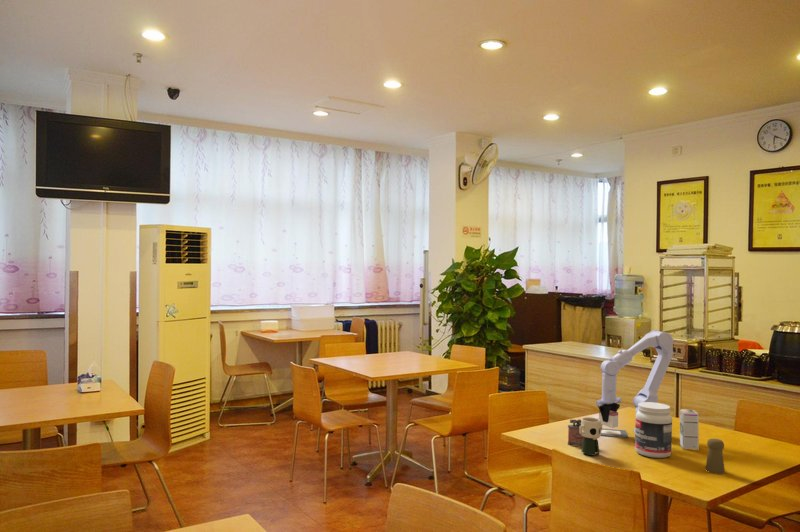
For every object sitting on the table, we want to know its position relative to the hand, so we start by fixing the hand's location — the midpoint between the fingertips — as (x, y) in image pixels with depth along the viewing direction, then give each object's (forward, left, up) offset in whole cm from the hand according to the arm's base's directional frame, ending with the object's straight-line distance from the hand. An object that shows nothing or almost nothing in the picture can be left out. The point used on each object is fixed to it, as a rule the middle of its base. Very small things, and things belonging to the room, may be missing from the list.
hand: (608, 421), depth 253 cm
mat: (0, 0, -5) cm, 5 cm away
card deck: (0, 0, -2) cm, 2 cm away
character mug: (+9, +33, -5) cm, 35 cm away
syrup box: (-29, +12, -5) cm, 32 cm away
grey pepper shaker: (-32, +39, -5) cm, 51 cm away
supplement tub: (-14, +25, -5) cm, 29 cm away
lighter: (+13, +22, -5) cm, 26 cm away
